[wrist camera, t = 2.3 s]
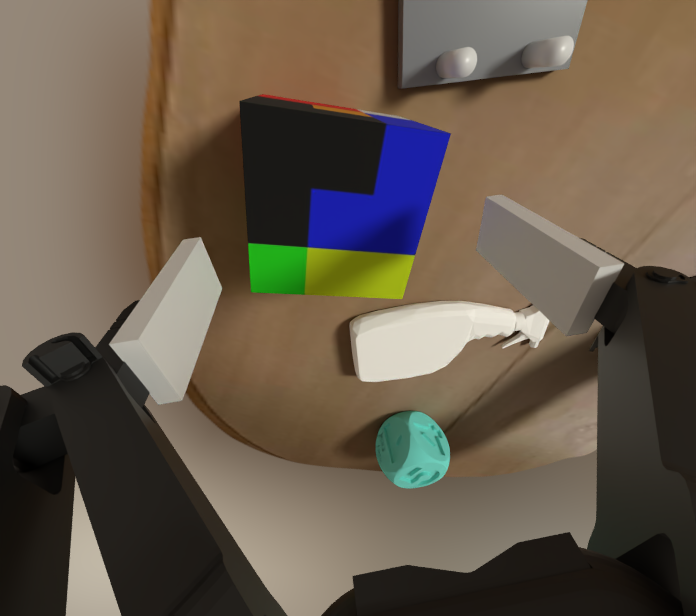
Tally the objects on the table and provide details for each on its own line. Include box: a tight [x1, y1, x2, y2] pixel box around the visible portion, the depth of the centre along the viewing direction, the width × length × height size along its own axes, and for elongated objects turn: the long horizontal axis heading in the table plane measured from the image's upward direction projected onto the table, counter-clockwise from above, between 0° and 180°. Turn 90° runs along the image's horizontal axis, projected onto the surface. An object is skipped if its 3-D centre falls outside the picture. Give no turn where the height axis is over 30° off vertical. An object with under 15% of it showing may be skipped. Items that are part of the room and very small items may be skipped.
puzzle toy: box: [240, 94, 451, 299], centre depth 21 cm, size 10×10×10 cm
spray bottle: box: [349, 301, 549, 382], centre depth 36 cm, size 3×11×24 cm
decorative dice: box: [376, 411, 450, 488], centre depth 46 cm, size 8×8×8 cm
